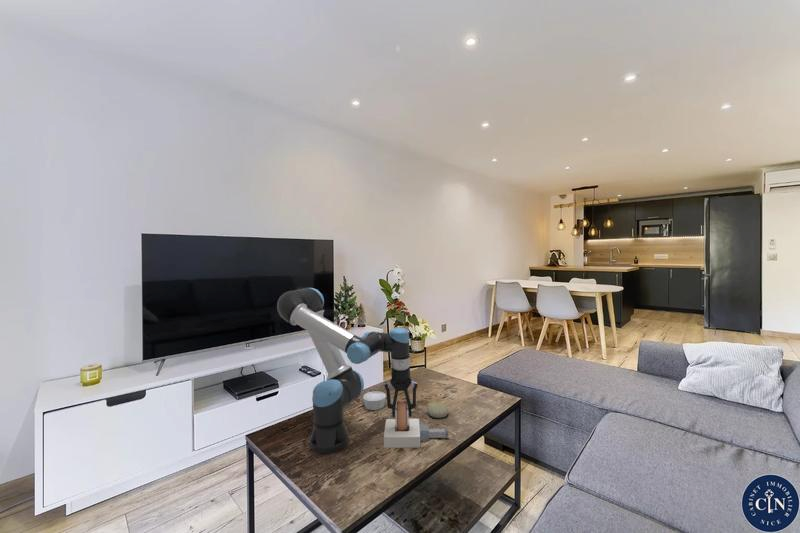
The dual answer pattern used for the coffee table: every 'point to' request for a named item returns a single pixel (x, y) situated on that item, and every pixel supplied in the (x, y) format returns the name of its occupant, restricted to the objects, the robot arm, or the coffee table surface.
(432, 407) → the sea urchin shell
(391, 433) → the dock
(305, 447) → the coffee table surface
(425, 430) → the pin guide
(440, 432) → the lock pin
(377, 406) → the ramekin
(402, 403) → the peg
